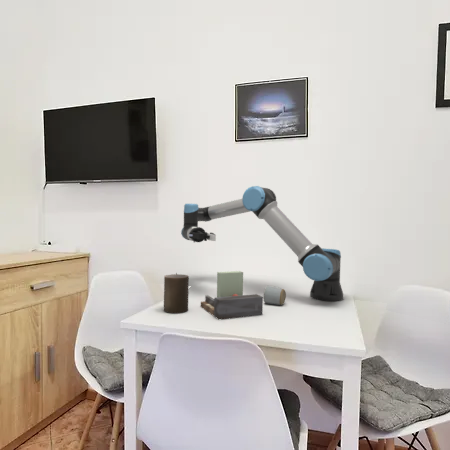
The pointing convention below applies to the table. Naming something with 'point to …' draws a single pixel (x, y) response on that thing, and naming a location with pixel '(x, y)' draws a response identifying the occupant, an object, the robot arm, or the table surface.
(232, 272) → the sage green upright block
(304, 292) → the table surface
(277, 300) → the grey cylinder
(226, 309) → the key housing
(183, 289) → the pillar candle
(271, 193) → the robot arm
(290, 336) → the table surface
